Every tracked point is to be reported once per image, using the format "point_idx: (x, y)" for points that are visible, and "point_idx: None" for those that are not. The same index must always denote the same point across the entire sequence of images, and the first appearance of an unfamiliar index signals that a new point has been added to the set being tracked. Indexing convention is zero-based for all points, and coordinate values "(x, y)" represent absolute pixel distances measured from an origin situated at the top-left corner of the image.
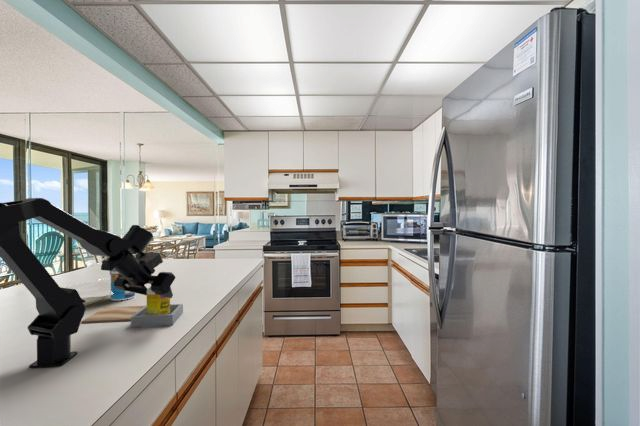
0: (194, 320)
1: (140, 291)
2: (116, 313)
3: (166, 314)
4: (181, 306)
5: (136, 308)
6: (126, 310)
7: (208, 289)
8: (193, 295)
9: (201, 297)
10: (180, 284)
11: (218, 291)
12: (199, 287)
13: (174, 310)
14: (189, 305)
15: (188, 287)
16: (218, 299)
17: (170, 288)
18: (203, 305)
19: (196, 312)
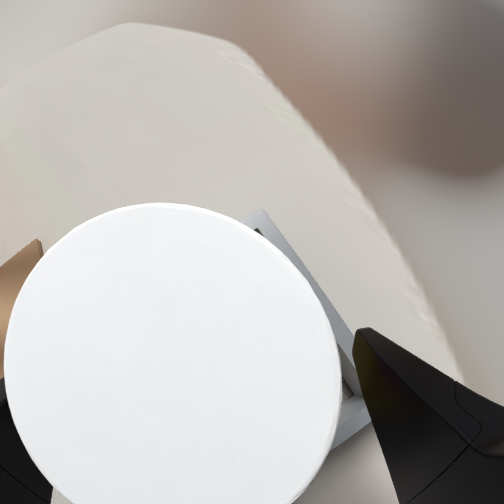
0: (409, 297)
1: None
2: (1, 373)
3: (356, 415)
4: (281, 237)
5: (19, 289)
6: (4, 327)
7: (141, 39)
8: (128, 78)
9: (173, 76)
10: (41, 63)
11: (187, 35)
12: (103, 44)
13: (336, 336)
14: (199, 145)
15: (71, 59)
16: (256, 70)
17: (457, 388)
18: (262, 125)
19: (320, 204)
